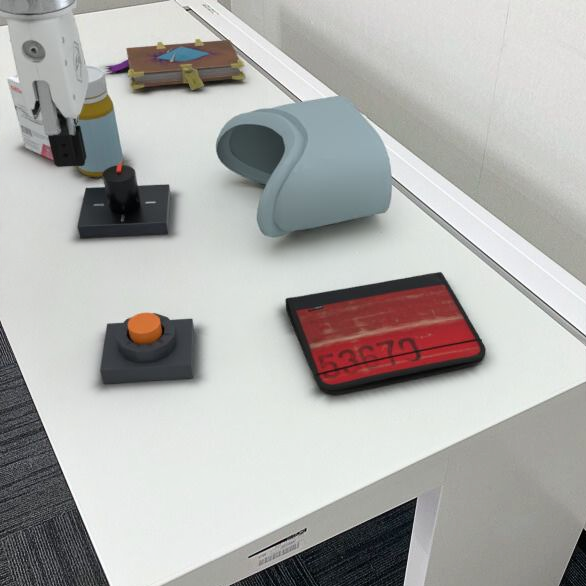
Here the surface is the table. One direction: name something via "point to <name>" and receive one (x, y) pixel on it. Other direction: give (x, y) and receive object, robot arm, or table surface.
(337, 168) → the grey-blue curved shell
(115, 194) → the dial
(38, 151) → the ink box
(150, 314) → the power button
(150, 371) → the switch block
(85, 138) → the bottle
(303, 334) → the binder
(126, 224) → the dial panel
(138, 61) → the book
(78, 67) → the robot arm
